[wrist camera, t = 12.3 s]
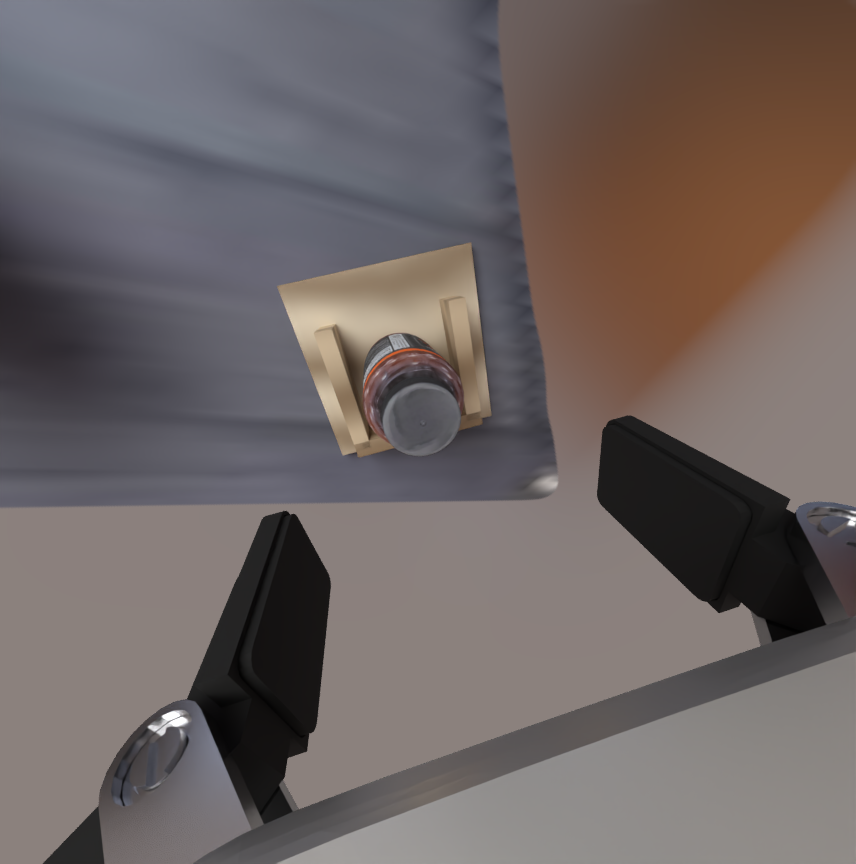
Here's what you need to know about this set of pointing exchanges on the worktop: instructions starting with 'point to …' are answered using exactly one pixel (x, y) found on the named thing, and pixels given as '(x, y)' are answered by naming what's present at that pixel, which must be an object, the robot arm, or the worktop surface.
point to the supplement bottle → (411, 395)
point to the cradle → (388, 331)
